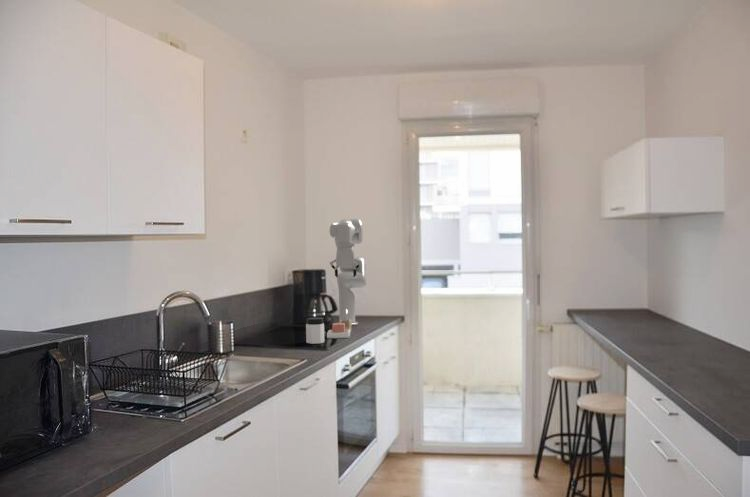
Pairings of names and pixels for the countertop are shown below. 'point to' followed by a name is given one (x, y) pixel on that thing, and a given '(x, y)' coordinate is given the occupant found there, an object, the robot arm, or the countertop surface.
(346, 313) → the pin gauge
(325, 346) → the countertop surface
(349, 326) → the beech block wide bore
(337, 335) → the tray
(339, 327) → the red block small bore
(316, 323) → the jar
